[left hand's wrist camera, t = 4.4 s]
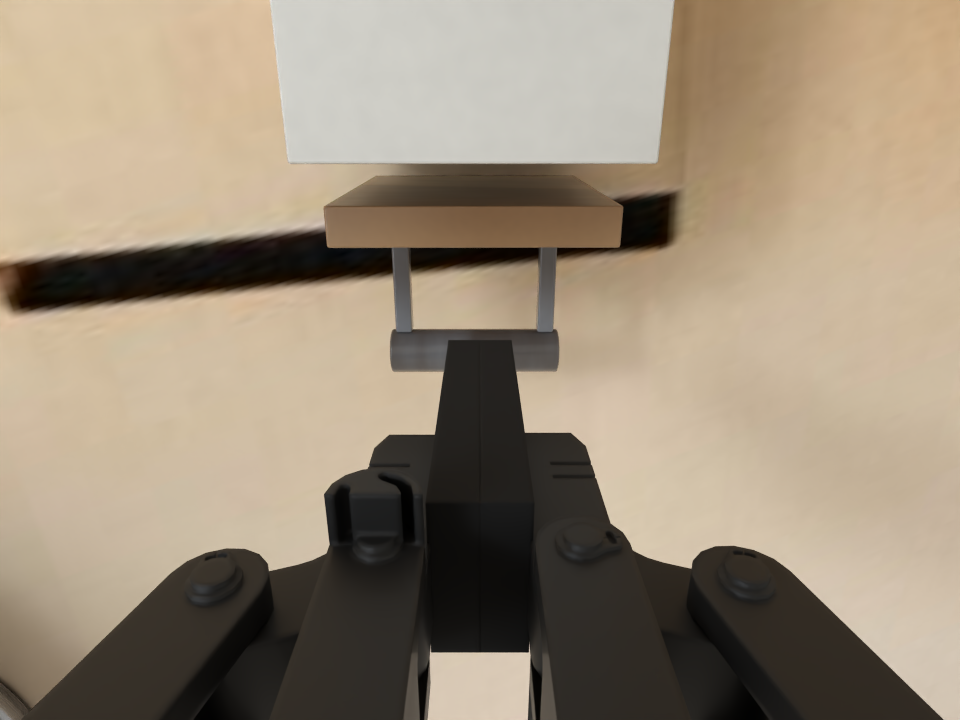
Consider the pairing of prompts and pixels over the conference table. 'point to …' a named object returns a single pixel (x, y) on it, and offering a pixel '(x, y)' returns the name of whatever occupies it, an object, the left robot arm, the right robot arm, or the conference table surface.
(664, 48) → the cabinet
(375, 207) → the drawer
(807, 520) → the conference table surface
